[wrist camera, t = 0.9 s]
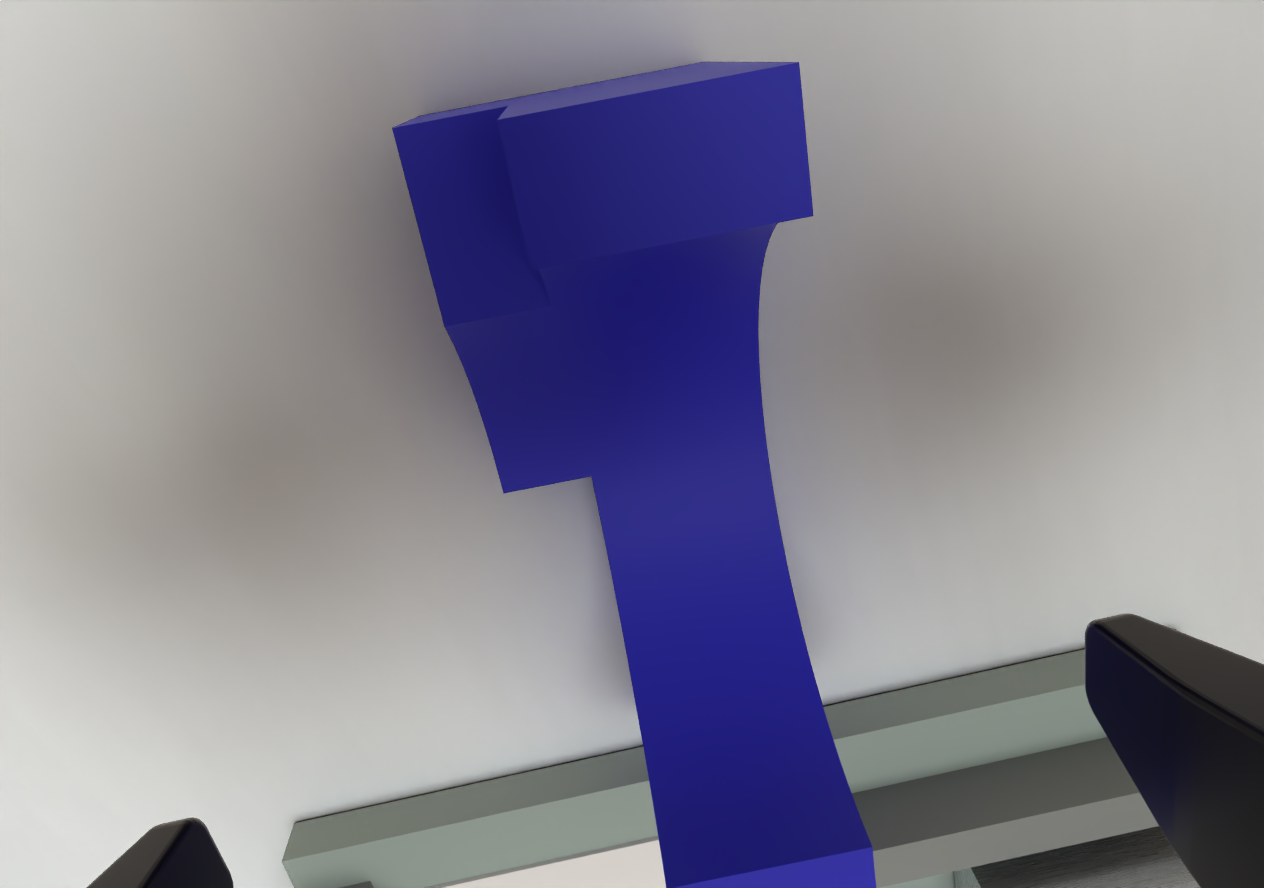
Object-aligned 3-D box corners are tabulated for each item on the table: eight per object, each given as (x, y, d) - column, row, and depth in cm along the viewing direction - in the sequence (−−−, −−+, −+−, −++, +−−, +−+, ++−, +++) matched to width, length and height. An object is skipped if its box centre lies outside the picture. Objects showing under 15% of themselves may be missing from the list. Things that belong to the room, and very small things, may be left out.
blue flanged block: (421, 114, 14) (345, 149, 9) (701, 61, 14) (798, 62, 9) (571, 716, 19) (582, 980, 14) (782, 674, 19) (879, 920, 14)
